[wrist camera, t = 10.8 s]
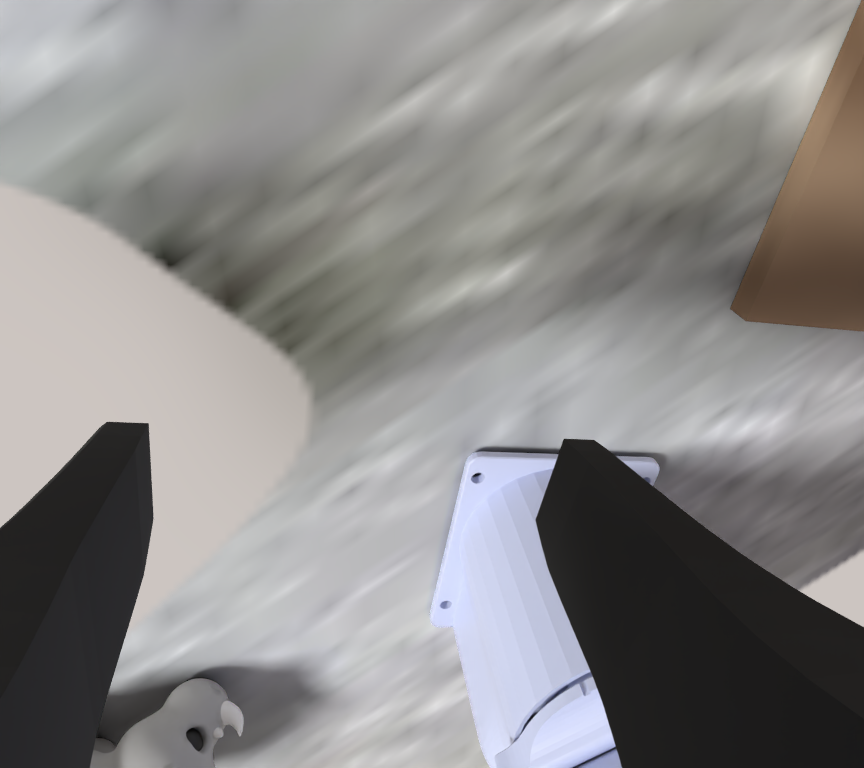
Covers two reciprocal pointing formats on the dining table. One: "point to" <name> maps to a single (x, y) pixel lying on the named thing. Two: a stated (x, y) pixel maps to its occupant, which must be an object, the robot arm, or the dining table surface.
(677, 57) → the dining table surface
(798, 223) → the mount
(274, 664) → the dining table surface
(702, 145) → the dining table surface
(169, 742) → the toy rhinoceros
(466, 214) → the dining table surface
